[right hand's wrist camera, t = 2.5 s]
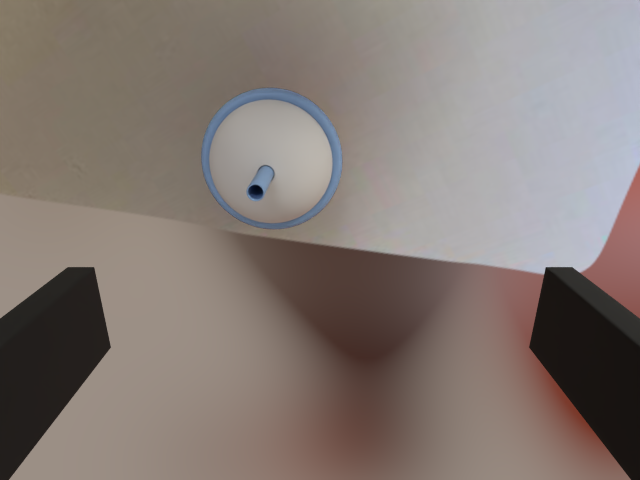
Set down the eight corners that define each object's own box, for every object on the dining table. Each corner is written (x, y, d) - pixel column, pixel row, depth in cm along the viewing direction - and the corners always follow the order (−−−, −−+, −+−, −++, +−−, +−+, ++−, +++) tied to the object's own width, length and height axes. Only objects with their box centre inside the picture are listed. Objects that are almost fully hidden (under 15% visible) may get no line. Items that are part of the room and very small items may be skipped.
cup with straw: (245, 200, 39) (190, 292, 22) (218, 97, 36) (131, 113, 19) (344, 182, 38) (364, 262, 22) (325, 75, 35) (333, 72, 18)
